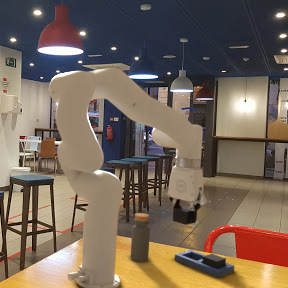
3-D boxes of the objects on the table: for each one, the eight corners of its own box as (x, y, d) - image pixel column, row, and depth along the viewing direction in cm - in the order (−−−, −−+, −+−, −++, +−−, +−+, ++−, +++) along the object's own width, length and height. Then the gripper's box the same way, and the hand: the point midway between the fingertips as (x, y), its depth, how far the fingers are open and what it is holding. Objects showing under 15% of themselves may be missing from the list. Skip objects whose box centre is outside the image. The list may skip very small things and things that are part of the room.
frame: (218, 277, 114) (219, 271, 114) (174, 260, 127) (174, 254, 126) (234, 271, 119) (234, 265, 119) (190, 255, 132) (190, 249, 132)
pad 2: (216, 274, 116) (217, 261, 116) (201, 268, 120) (202, 256, 120) (225, 270, 119) (226, 258, 119) (210, 265, 123) (211, 253, 123)
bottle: (147, 256, 129) (149, 213, 128) (149, 262, 123) (151, 217, 122) (129, 254, 130) (132, 212, 128) (131, 261, 124) (133, 216, 123)
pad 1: (185, 224, 116) (186, 212, 116) (172, 220, 120) (173, 208, 120) (195, 222, 119) (196, 210, 119) (182, 218, 123) (183, 206, 123)
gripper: (158, 160, 123) (155, 215, 124) (205, 167, 109) (200, 229, 110) (173, 159, 127) (169, 212, 129) (219, 166, 114) (215, 225, 115)
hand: (184, 219), depth 120 cm, fingers closed on pad 1, 5 cm apart
